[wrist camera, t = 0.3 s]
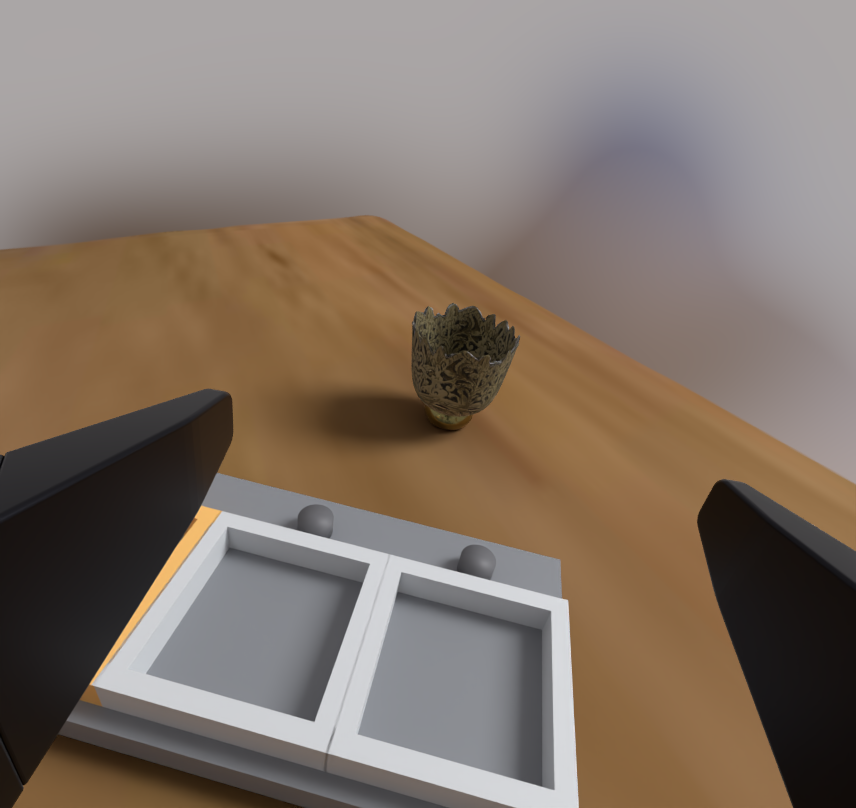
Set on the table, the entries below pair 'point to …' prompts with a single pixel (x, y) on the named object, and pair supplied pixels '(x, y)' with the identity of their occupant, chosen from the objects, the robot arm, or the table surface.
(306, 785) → the board
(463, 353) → the cup
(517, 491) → the table surface
